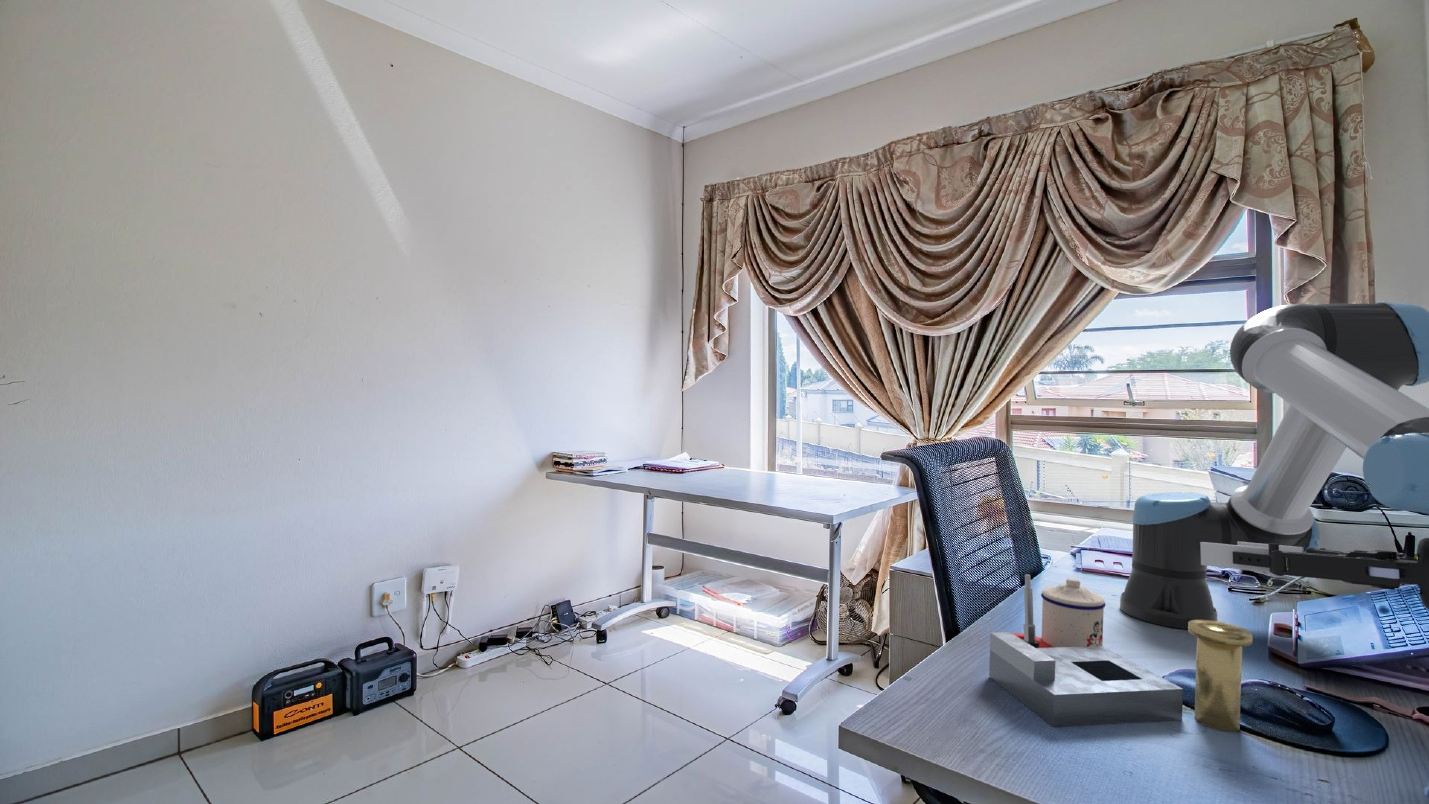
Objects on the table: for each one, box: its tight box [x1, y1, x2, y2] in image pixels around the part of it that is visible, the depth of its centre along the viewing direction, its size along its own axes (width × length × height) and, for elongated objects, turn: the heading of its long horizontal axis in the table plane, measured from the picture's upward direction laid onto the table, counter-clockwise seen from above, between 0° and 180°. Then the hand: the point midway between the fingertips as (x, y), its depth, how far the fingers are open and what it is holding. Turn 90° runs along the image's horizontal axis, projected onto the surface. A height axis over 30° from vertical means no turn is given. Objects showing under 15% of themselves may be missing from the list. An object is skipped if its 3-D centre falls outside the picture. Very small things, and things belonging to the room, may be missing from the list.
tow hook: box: [1011, 574, 1051, 648], centre depth 104 cm, size 8×13×9 cm
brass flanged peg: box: [1187, 620, 1253, 733], centre depth 81 cm, size 6×6×12 cm
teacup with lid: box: [1040, 577, 1106, 648], centre depth 105 cm, size 12×9×12 cm
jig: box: [988, 631, 1184, 728], centre depth 87 cm, size 18×14×6 cm
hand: (1220, 552), depth 81 cm, fingers open, 13 cm apart
